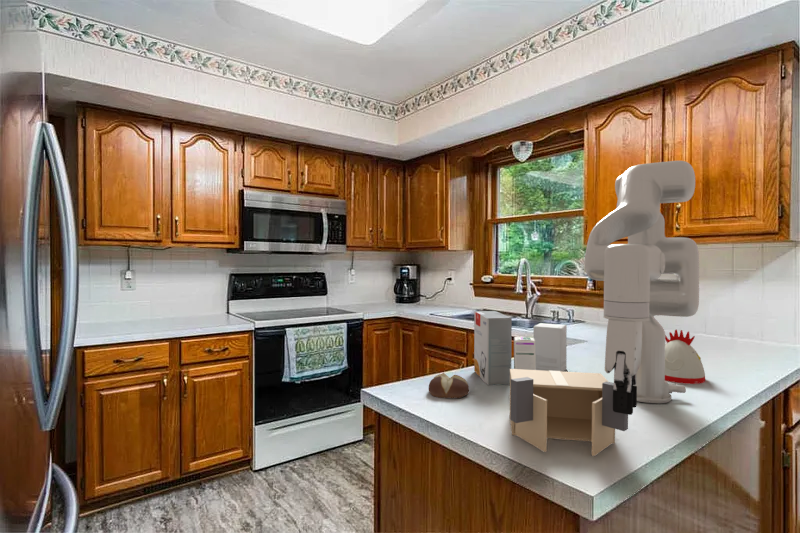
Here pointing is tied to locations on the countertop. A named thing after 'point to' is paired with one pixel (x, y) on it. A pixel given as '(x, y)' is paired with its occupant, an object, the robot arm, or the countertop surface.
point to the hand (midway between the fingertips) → (624, 408)
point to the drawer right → (605, 420)
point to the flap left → (528, 413)
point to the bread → (448, 386)
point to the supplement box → (550, 347)
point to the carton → (565, 401)
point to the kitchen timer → (682, 360)
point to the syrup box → (524, 353)
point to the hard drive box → (492, 346)
